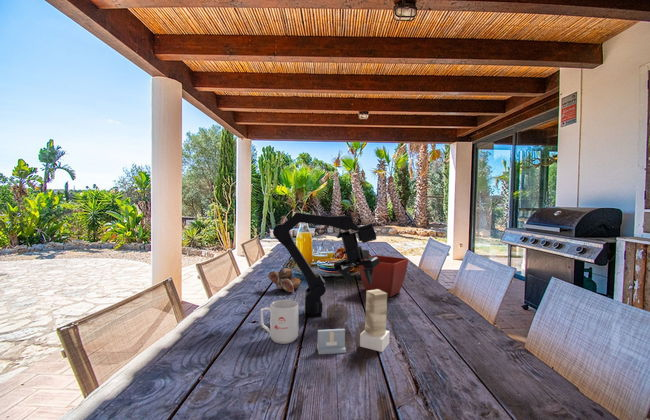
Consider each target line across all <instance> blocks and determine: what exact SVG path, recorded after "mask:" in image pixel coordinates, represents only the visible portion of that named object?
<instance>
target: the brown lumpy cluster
mask: <svg viewBox="0 0 650 420" xmlns="http://www.w3.org/2000/svg"><path fill="white" fill-rule="evenodd" d="M267 277H268V278H269V281H271V282H272V283H273V284H275V287H276V288H277V289H279V290H285V292H288V293H294V291H295V290H297V289H299V288H300V286H301V284H302V280H301V279H300V278H297V277H293V270H292V269H291V268H288V267H286V268H284V269H283V268H282V269H281V270H280V271H279V272H277V271H275V270H273V271H269V273H268V274H267Z"/></svg>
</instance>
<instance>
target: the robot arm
mask: <svg viewBox="0 0 650 420" xmlns="http://www.w3.org/2000/svg"><path fill="white" fill-rule="evenodd" d="M353 219H354V218H352V217H351V216H349V215H343V214H342V215H340V214H339V215H320V214H312V213H302V212H295V213H294V214H293V215H292V216H291V217H290V218H289V219H287V220H286V221H284V223H278V224H277V225H276V226H274V228H273V231H272V234H273V236H274V238H276V240H277V241H278V242H279V243H280V244H281V245H282V246H283V247H284V248H286V250H287V251H288V253H289V254H290V256H291V258H292V259H293V261H294V263H295V265H296V266H297V267H298V269H299V270H300V272H301V274H303V276H304V278H305V280H306V283H307V285H308V287H307V288H306V289H305V290H304V291H305V294H304V295H305V296H304V298H303V299H304V303H303V304H304V307H303V315H304V317H305V318H315V317H317V318H318V317H322V314H323V302H322V298H321V297H323V296H324V294H325V293H326V290H327V289H326V281H325V280H326V279H324V278H323V277H322V275H321V273H320V272H317V273H316V272H315V271H314V270H313V269H312V267H311V266H310V264H309V262H308V261H307V259H306V258H305V257H304V255H303V254H302V252H301V250H300V249H299V247H298V246H297V244H296V242H295V241H294V239H293V235H292V232H291V230H293V228H295V227H296V226H297V225H299V224H300V223H301V224H310V225H319V226H328V227H332V228H336V229H338V232H337V235H336V236H335V237H336V238H337V239H341V240H342V244H343V248H344V250H343V251H342V254H345V256H346V258H345V259H344V258H343V259H342V258H341V259H339V260H337V261H335V262H334V263H333V269H334V271H337V272H338V273H340V275H342V276H343V278H344V279H345V280H346V281H347V282H348V284H349V285H351V286H352V285H353V284H354V283H353V278H352V273H351V267H357V266H358V267H359V266H360V265H363V267H364V268H365V269H363V270H364V273H365V275H366V278H367V280H368V283H369V284H370V285H371V284H372V275H373V269H374V267H376V266H377V265H378V264H379V263H380V262H379V259H378V258H377V257H369V256H370V250H368V249H363V248H362V246H359V242H361V243H362V244H364V243H369V242H372V241H376V240H377V233H376V230H375V228H374V227H373V224H372V223H367V224H365V225H362V226H361V225H360V226H359V225H357V224H355V222H354V220H353ZM340 230H342V231H343V232H341V231H340ZM350 230H351V232H350ZM365 258H367V259H365ZM362 259H365V260H362Z"/></svg>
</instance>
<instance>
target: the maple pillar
mask: <svg viewBox="0 0 650 420" xmlns="http://www.w3.org/2000/svg"><path fill="white" fill-rule="evenodd" d="M365 296H366V297H365V322H364V330H365V331H367V332H368V333H369V334H371V335H372V336H378V335H382V334H386V330H387V313H388V311H387V310H388V309H387V307H388V306H387V305H388V297H387V293H386V292H383V291H381V290H379V289H376V290H368V291H365Z"/></svg>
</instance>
